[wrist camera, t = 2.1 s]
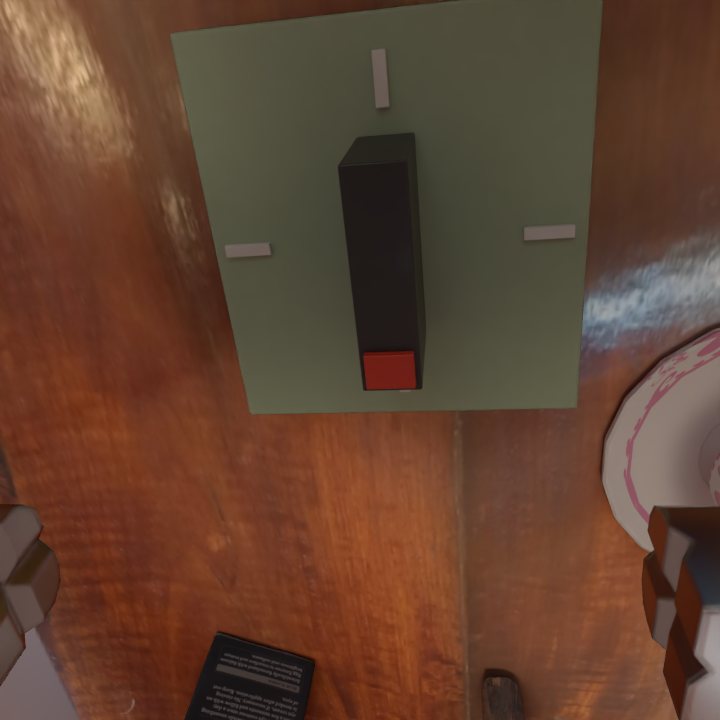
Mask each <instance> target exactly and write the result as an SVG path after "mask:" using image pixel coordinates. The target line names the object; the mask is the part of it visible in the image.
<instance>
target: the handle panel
mask: <svg viewBox="0 0 720 720" xmlns="http://www.w3.org/2000/svg"><path fill="white" fill-rule="evenodd" d="M602 9H603V0H454V1H445V2H436V3H427V4H418V5H409V6H401V7H392V8H383V9H374V10H365V11H357V12H348V13H339V14H330V15H321V16H313V17H304V18H295V19H286V20H277V21H269V22H260V23H251V24H242V25H233V26H225V27H216V28H207V29H199V30H191V31H183V32H175V33H172V34H170V38H171V43H172V48H173V52H174V57H175V62H176V66H177V71H178V76H179V81H180V85H181V90H182V95H183V99H184V104H185V109H186V114H187V118H188V123H189V128H190V132H191V137H192V142H193V147H194V151H195V156H196V161H197V165H198V170H199V175H200V180H201V184H202V189H203V194H204V198H205V203H206V208H207V213H208V217H209V222H210V227H211V231H212V236H213V241H214V246H215V250H216V255H217V260H218V264H219V269H220V274H221V279H222V283H223V288H224V293H225V297H226V302H227V307H228V312H229V316H230V321H231V326H232V330H233V335H234V340H235V345H236V349H237V354H238V359H239V363H240V368H241V373H242V378H243V382H244V387H245V392H246V396H247V401H248V406H249V411H250V414H252V415H261V414H311V413H361V412H411V411H462V410H512V409H562V408H576V407H577V401H578V385H579V369H580V354H581V338H582V322H583V307H584V291H585V275H586V260H587V244H588V228H589V213H590V197H591V181H592V166H593V150H594V134H595V119H596V103H597V87H598V72H599V56H600V40H601V25H602ZM401 133H414V134H415V148H416V164H417V181H418V198H419V215H420V232H421V249H422V266H423V283H424V300H425V317H426V344H425V358H424V372H423V387H422V389H421V390H381V391H364V390H363V385H362V377H361V368H360V359H359V350H358V342H357V333H356V324H355V315H354V307H353V298H352V289H351V280H350V272H349V263H348V254H347V245H346V237H345V228H344V219H343V211H342V202H341V193H340V184H339V176H338V165H339V163H340V162H341V160H342V159H343V157H344V156H345V154H346V153H347V151H348V150H349V148H350V147H351V145H352V144H353V142H354V141H355V139H356V138H357V137H365V136H377V135H389V134H401Z"/></svg>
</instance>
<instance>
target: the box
mask: <svg viewBox="0 0 720 720" xmlns="http://www.w3.org/2000/svg"><path fill="white" fill-rule="evenodd" d="M314 666H315V664H314V662H312V661H310V660H307V659H305V658H302V657H299V656H297V655H293V654H290V653H288V652H283V651H279V650H275V649H271V648H267V647H264V646H259V645H256V644H253V643H249V642H246V641H243V640H240V639H237V638H234V637H230V636H228V635H224V634H221V633H217V634H216V635H215V637H214V640H213V642H212V645H211V648H210V651H209V653H208V655H207V659H206V661H205V664H204V666H203V669H202V672H201V675H200V678H199V680H198V683H197V686H196V689H195V691H194V695H193V697H192V700H191V703H190V706H189V708H188V711H187V714H186V717H185V720H304V717H305V712H306V707H307V702H308V698H309V692H310V688H311V682H312V677H313V672H314Z"/></svg>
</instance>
